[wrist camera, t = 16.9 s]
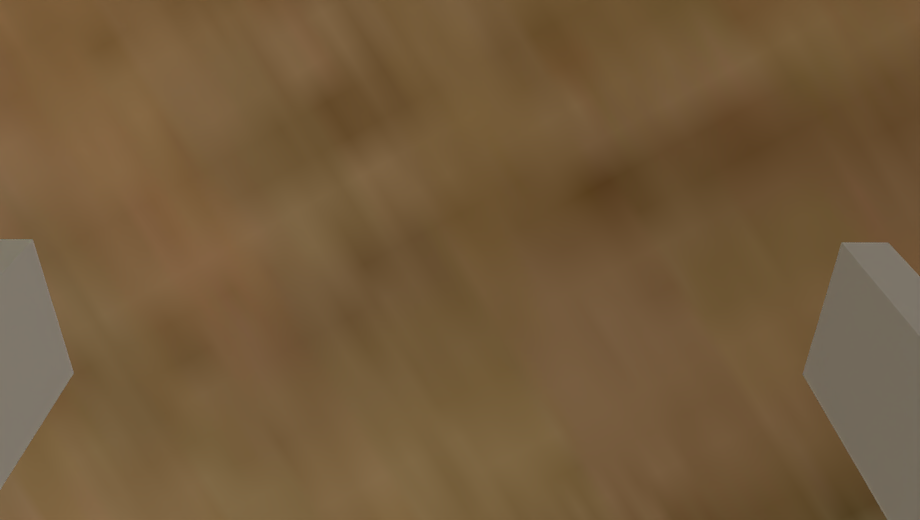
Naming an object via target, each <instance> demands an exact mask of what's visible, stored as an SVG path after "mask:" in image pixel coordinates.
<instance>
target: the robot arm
mask: <svg viewBox="0 0 920 520" xmlns="http://www.w3.org/2000/svg"><path fill="white" fill-rule="evenodd" d="M73 373H74V372H73V369H72V366H71V362H70V359H69V356H68V353H67V349H66V346H65V343H64V340H63V336H62V333H61V330H60V327H59V323H58V320H57V317H56V314H55V310H54V307H53V304H52V301H51V297H50V294H49V291H48V288H47V284H46V281H45V278H44V274H43V271H42V268H41V265H40V261H39V258H38V255H37V252H36V248H35V245H34V242H33V239H0V489H1V488H2V486H3V484H4V483H5V481H6V480H7V478H8V476H9V475H10V473H11V472H12V470H13V469H14V467H15V465H16V464H17V462H18V461H19V459H20V457H21V456H22V454H23V453H24V451H25V450H26V448H27V446H28V445H29V443H30V442H31V440H32V438H33V437H34V435H35V434H36V432H37V430H38V429H39V427H40V426H41V424H42V423H43V421H44V419H45V418H46V416H47V415H48V413H49V411H50V410H51V408H52V407H53V405H54V404H55V402H56V400H57V399H58V397H59V396H60V394H61V392H62V391H63V389H64V388H65V386H66V384H67V383H68V381H69V380H70V378H71V377H72V375H73ZM803 376H804V378H805V379H806V381H807V383H808V384H809V386H810V388H811V390H812V391H813V393H814V395H815V396H816V398H817V400H818V402H819V403H820V405H821V407H822V408H823V410H824V412H825V414H826V415H827V417H828V419H829V420H830V422H831V424H832V426H833V427H834V429H835V431H836V432H837V434H838V436H839V438H840V439H841V441H842V443H843V444H844V446H845V448H846V450H847V451H848V453H849V455H850V456H851V458H852V460H853V462H854V463H855V465H856V467H857V468H858V470H859V472H860V474H861V475H862V477H863V479H864V480H865V482H866V484H867V486H868V487H869V489H870V491H871V492H872V494H873V496H874V498H875V499H876V501H877V503H878V504H879V506H880V508H881V510H882V511H883V513H884V515H885V516H886V518H887V520H920V276H919V275H918V274H917V273H916V272H915V271H914V270H913V269H912V268H911V267H910V266H909V264H908V263H907V262H906V261H905V260H904V259H903V258H902V257H901V256H900V255H899V254H898V253H897V252H896V250H895V249H894V248H893V247H892V246H891V245H890V244H889V243H841V246H840V250H839V253H838V257H837V260H836V263H835V267H834V270H833V274H832V277H831V280H830V284H829V287H828V290H827V294H826V297H825V301H824V304H823V307H822V311H821V314H820V318H819V321H818V324H817V328H816V331H815V334H814V338H813V341H812V345H811V348H810V351H809V355H808V358H807V362H806V365H805V368H804V372H803Z"/></svg>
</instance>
